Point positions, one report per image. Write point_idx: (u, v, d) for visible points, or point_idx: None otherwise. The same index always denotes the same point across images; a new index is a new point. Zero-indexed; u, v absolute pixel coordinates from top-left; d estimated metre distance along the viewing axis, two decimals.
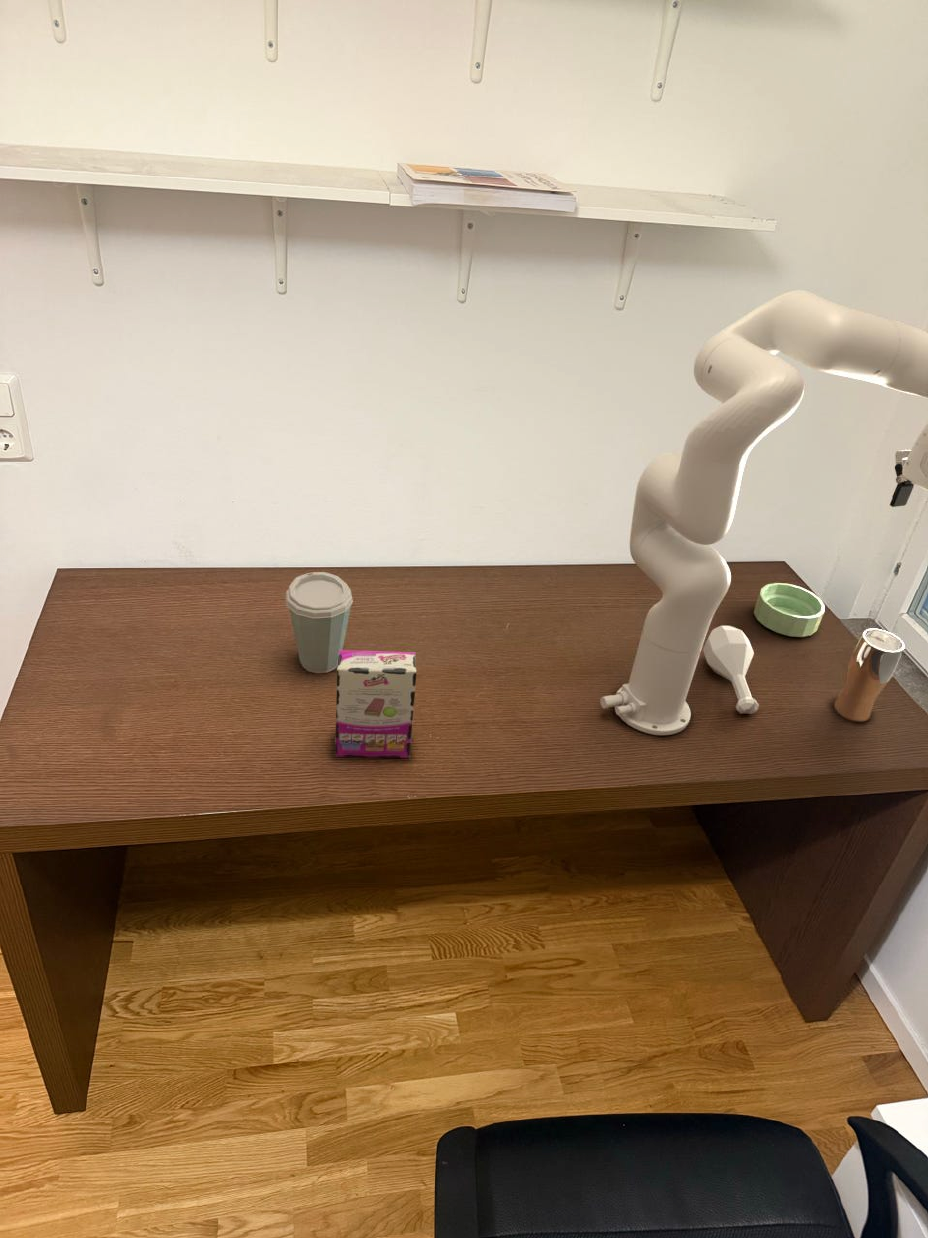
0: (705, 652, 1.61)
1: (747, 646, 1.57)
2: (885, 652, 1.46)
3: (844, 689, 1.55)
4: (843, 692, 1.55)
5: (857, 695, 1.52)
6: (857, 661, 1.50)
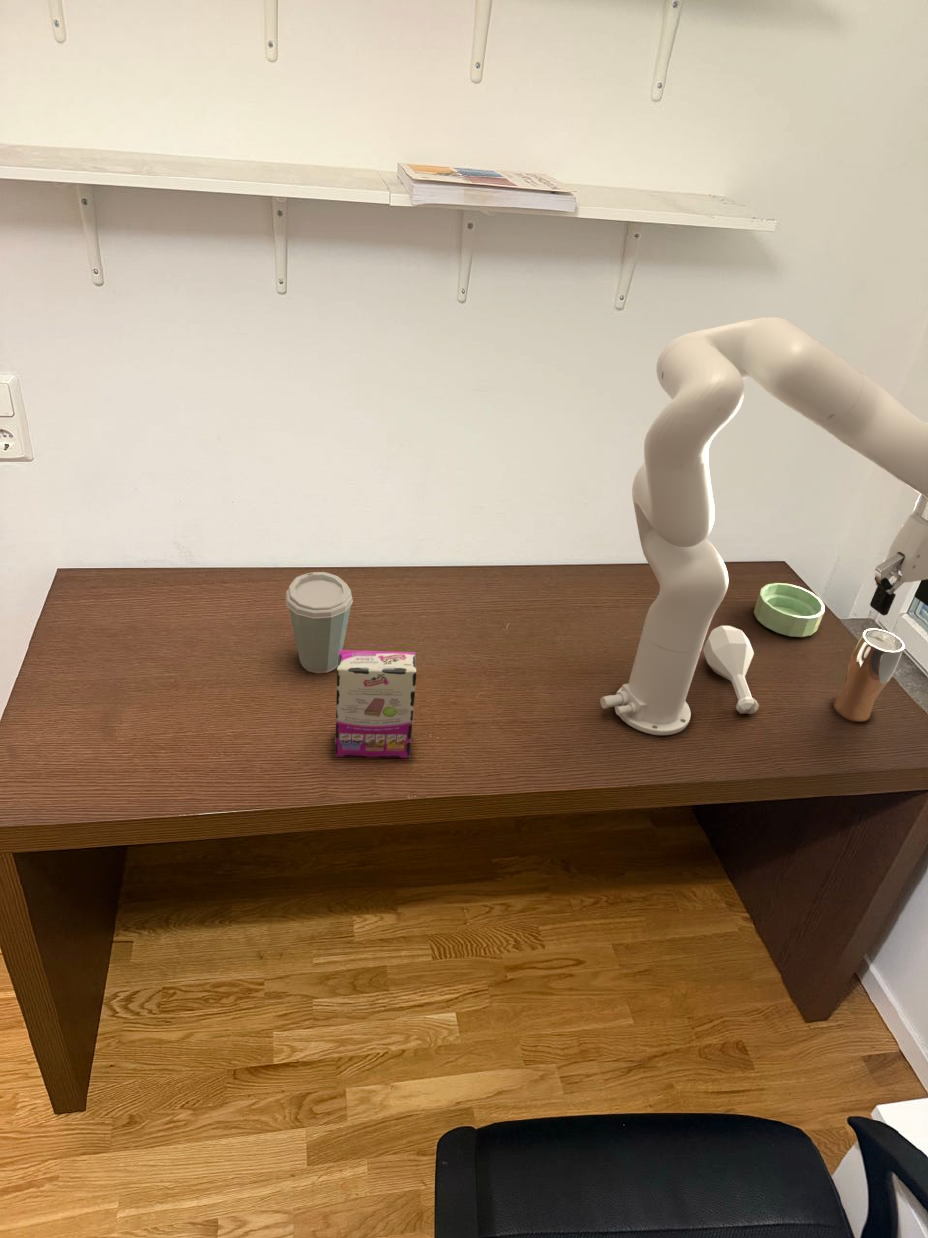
0: (705, 652, 1.61)
1: (747, 646, 1.57)
2: (885, 652, 1.46)
3: (844, 689, 1.55)
4: (843, 692, 1.55)
5: (857, 695, 1.52)
6: (857, 661, 1.50)
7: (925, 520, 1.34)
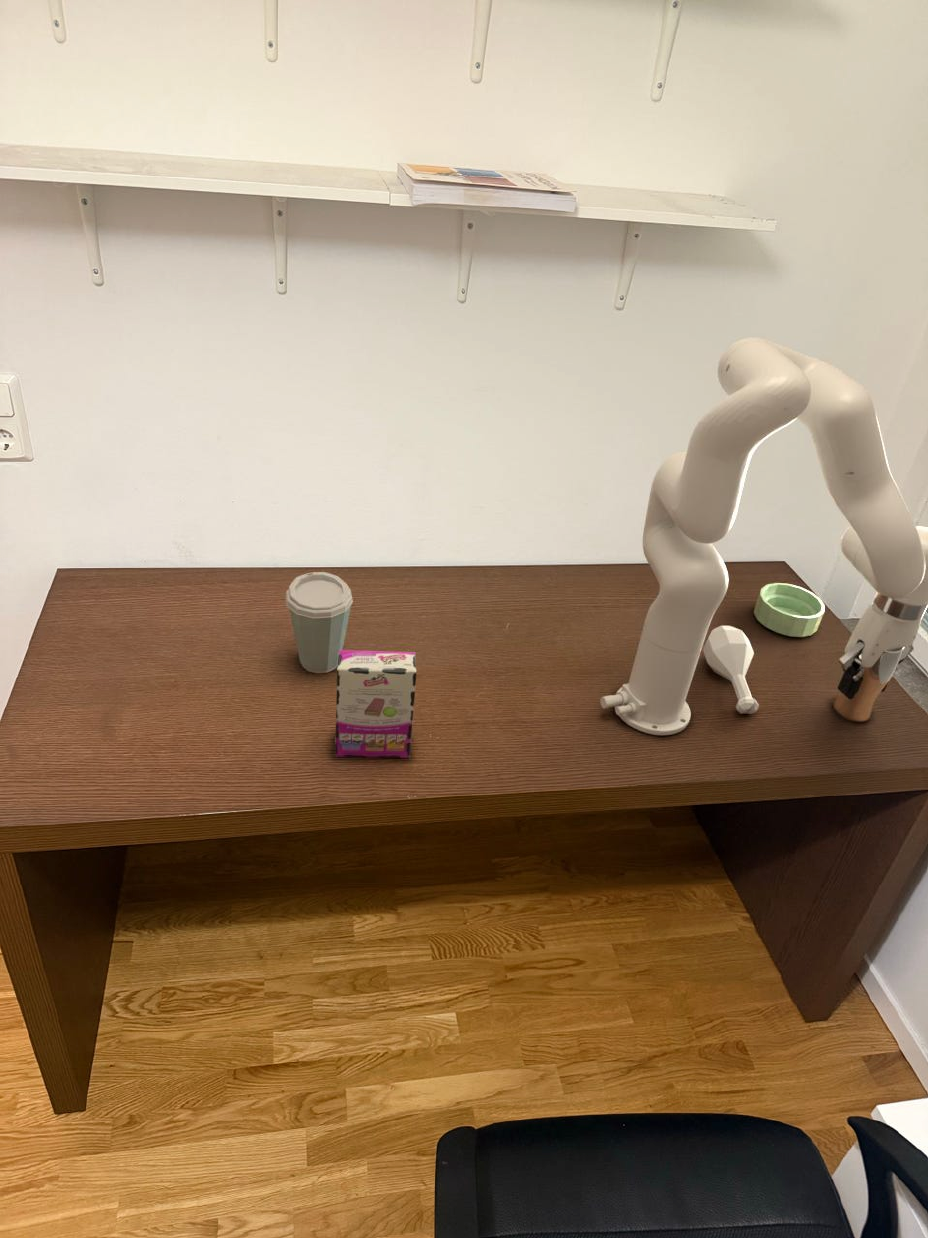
0: (705, 652, 1.61)
1: (747, 646, 1.57)
2: (885, 652, 1.46)
3: None
4: None
5: (857, 695, 1.52)
6: None
7: (883, 612, 1.43)
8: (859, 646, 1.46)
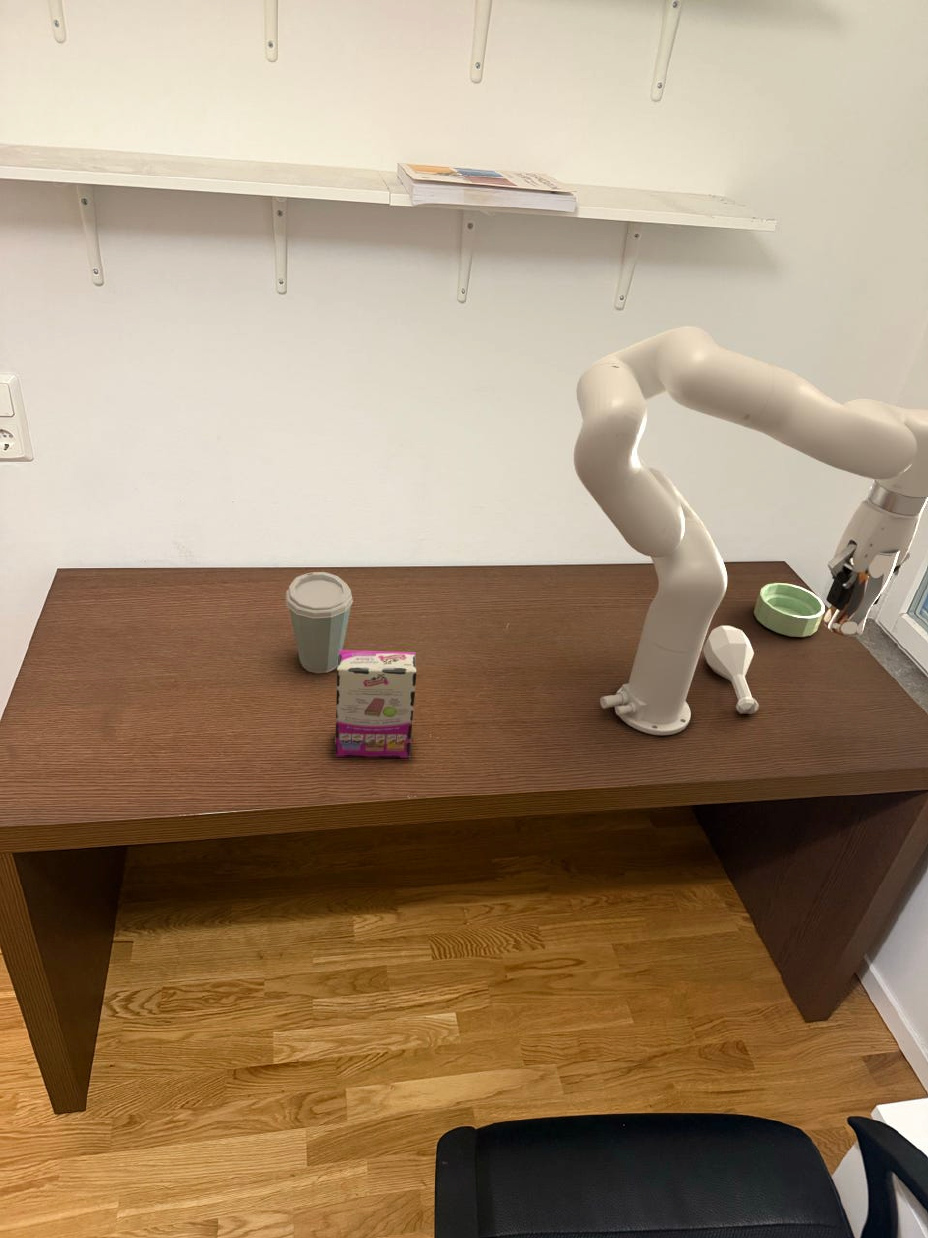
0: (705, 652, 1.61)
1: (747, 646, 1.57)
2: (879, 554, 1.31)
3: None
4: None
5: (848, 606, 1.37)
6: None
7: (878, 507, 1.28)
8: (850, 547, 1.31)
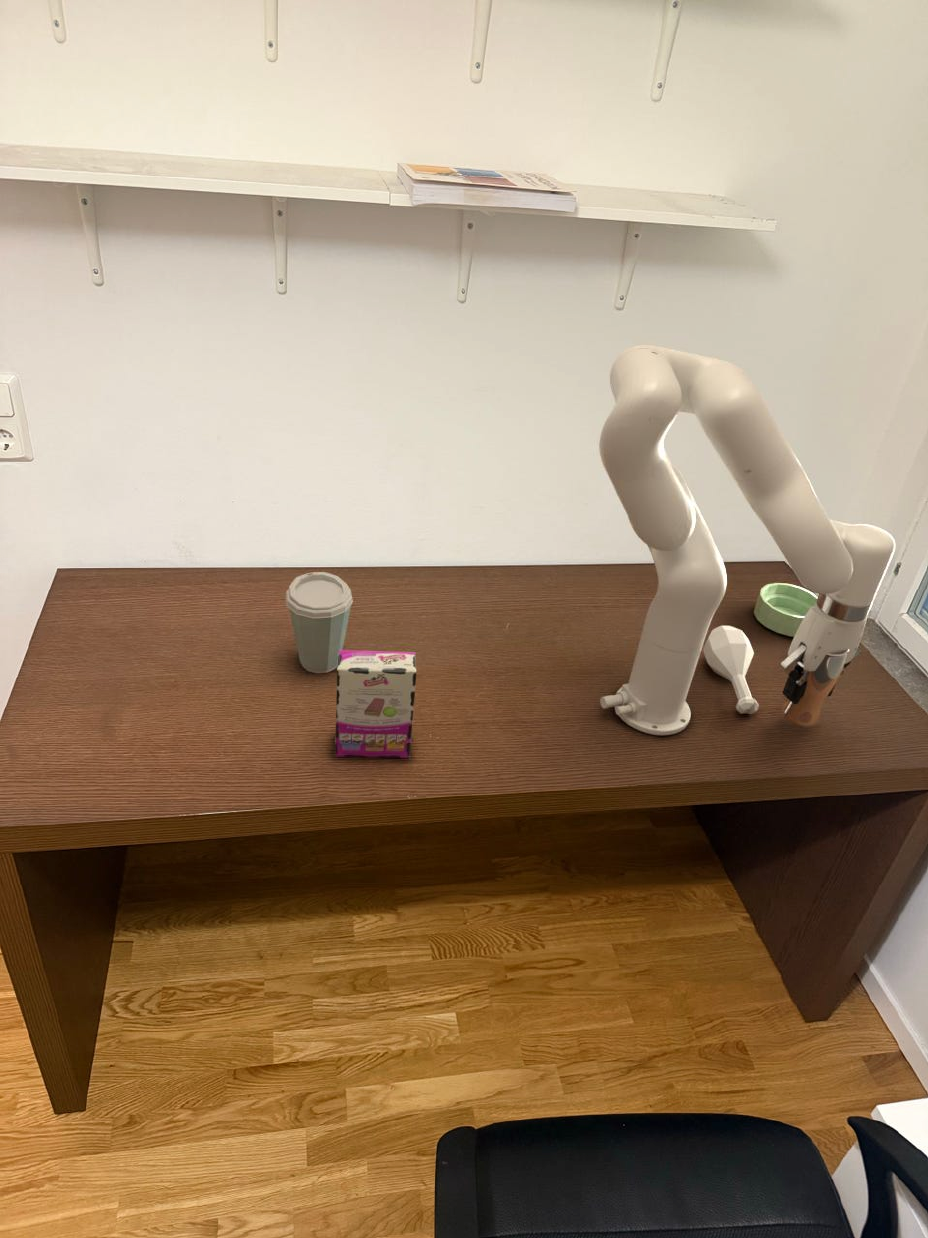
0: (705, 652, 1.61)
1: (747, 646, 1.57)
2: (828, 655, 1.40)
3: None
4: None
5: (803, 700, 1.46)
6: None
7: (825, 613, 1.37)
8: (801, 649, 1.40)
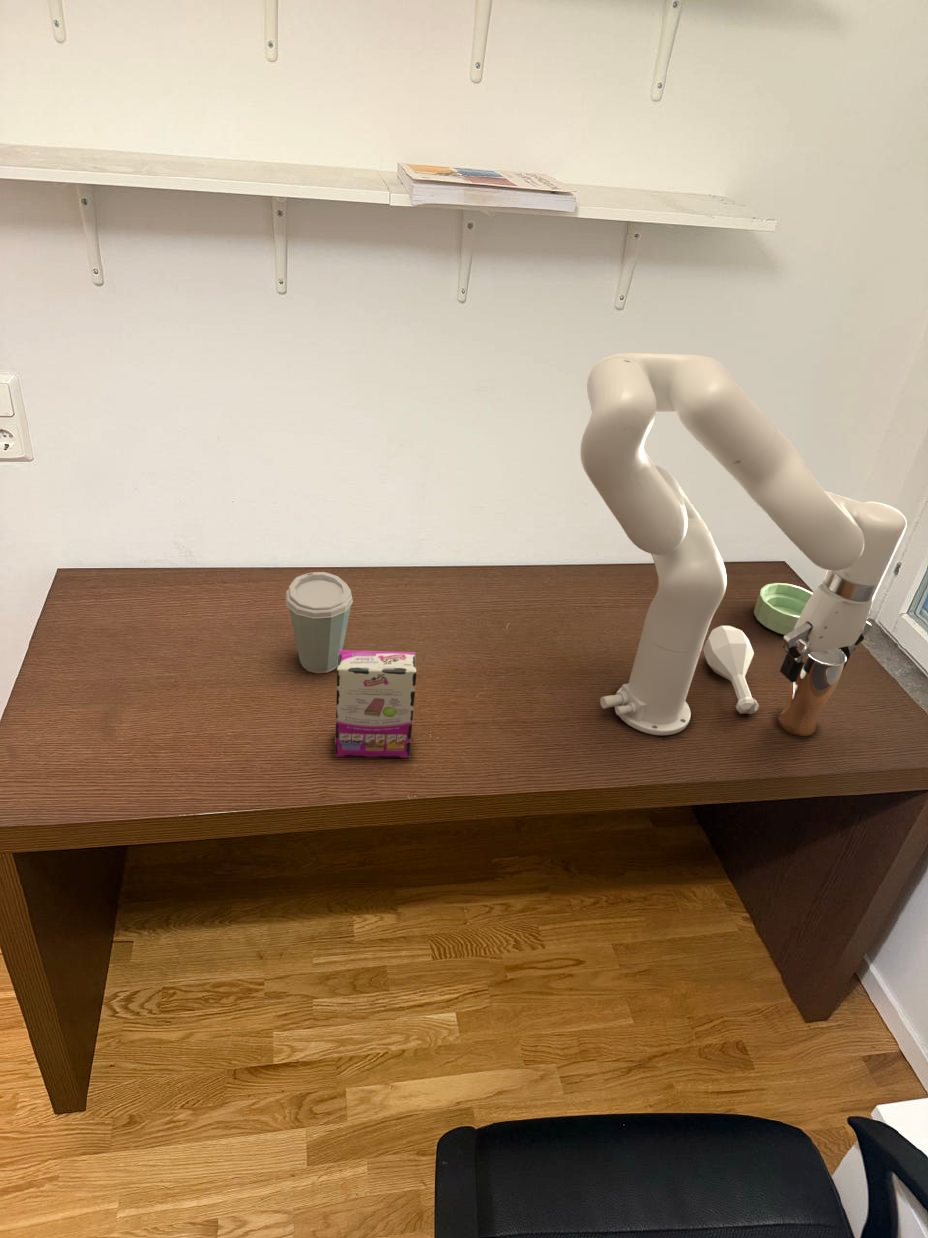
0: (705, 652, 1.61)
1: (747, 646, 1.57)
2: (826, 665, 1.41)
3: (787, 703, 1.50)
4: (787, 706, 1.50)
5: (800, 709, 1.47)
6: None
7: (832, 592, 1.35)
8: None
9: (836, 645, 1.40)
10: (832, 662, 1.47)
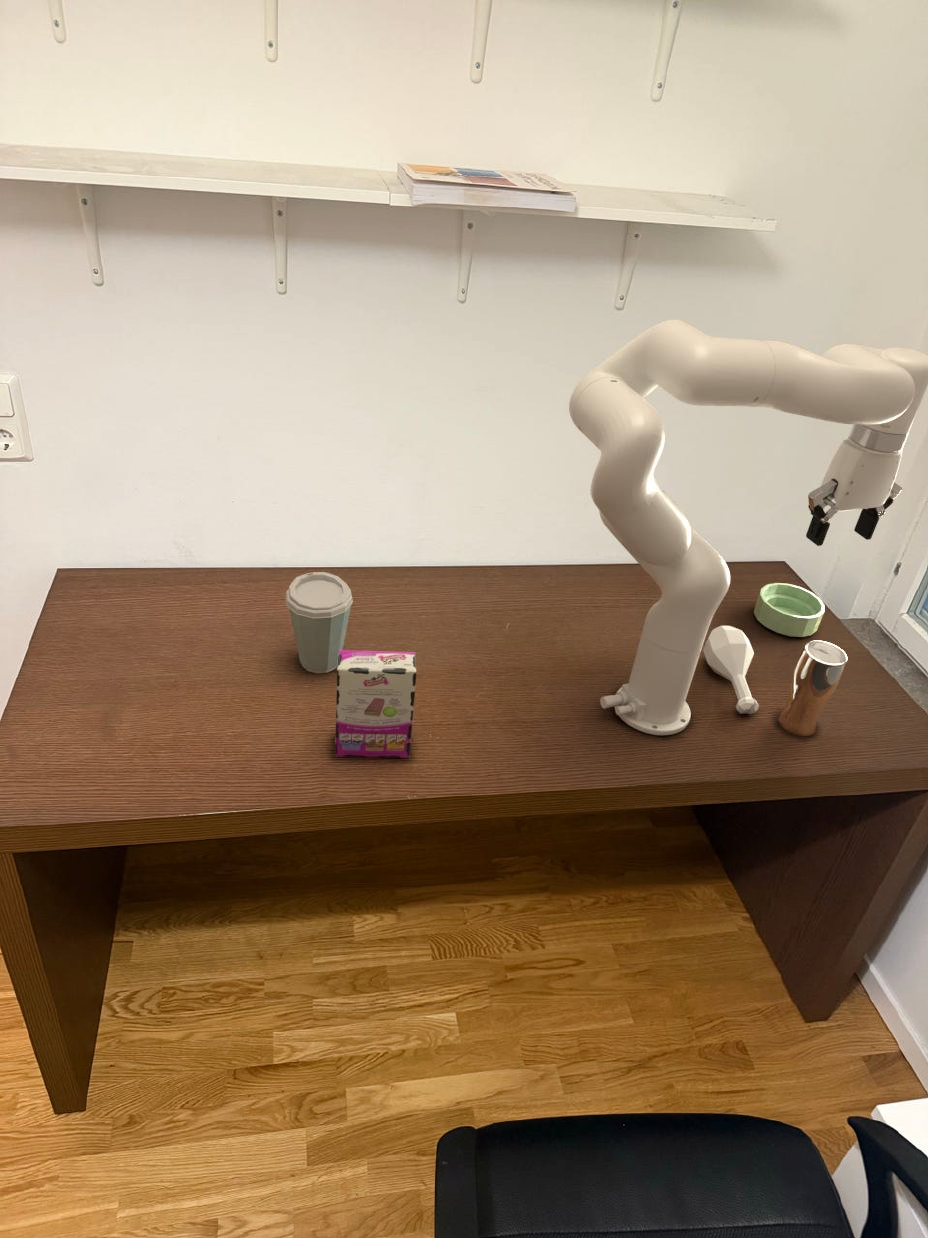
0: (705, 652, 1.61)
1: (747, 646, 1.57)
2: (827, 665, 1.41)
3: (788, 702, 1.50)
4: (787, 706, 1.50)
5: (800, 709, 1.47)
6: (799, 674, 1.45)
7: (858, 444, 1.31)
8: None
9: (864, 504, 1.36)
10: (833, 662, 1.47)
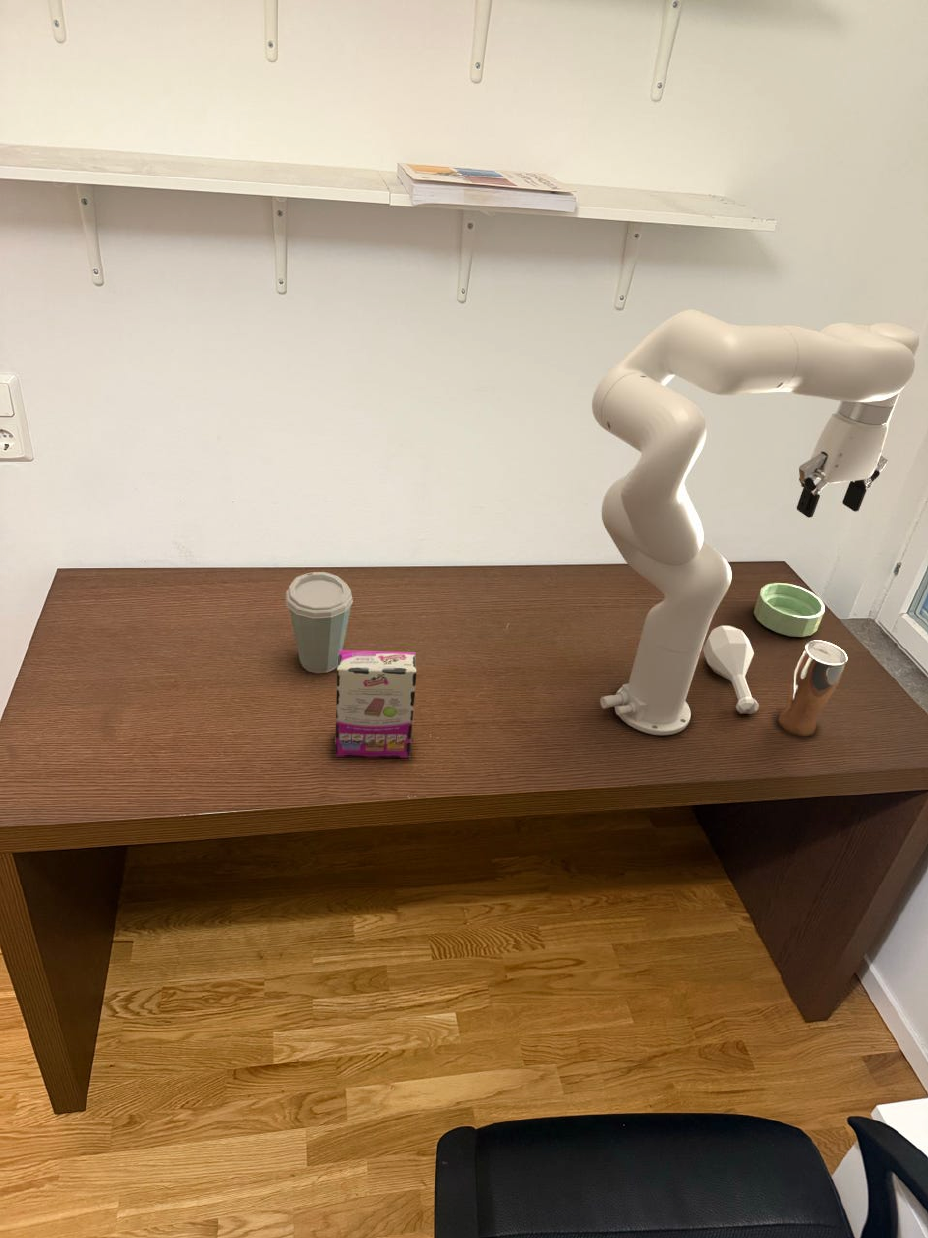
0: (705, 652, 1.61)
1: (747, 646, 1.57)
2: (827, 665, 1.41)
3: (788, 702, 1.50)
4: (787, 706, 1.50)
5: (800, 709, 1.47)
6: (799, 674, 1.45)
7: (847, 417, 1.35)
8: None
9: (852, 476, 1.41)
10: (833, 662, 1.47)
